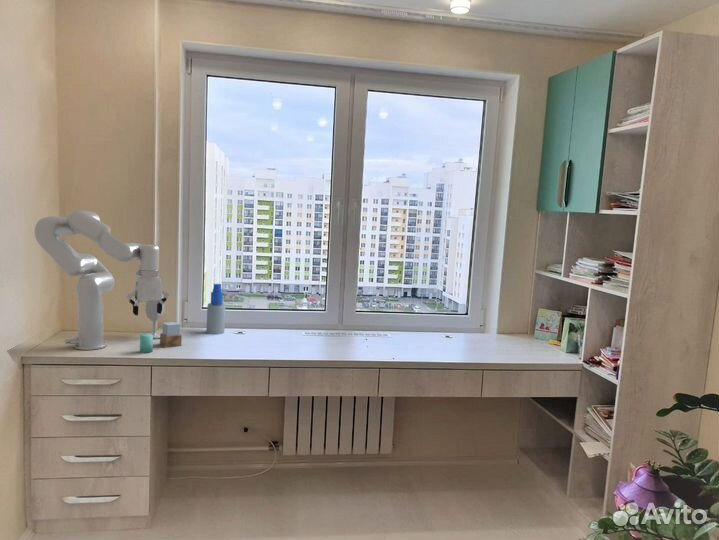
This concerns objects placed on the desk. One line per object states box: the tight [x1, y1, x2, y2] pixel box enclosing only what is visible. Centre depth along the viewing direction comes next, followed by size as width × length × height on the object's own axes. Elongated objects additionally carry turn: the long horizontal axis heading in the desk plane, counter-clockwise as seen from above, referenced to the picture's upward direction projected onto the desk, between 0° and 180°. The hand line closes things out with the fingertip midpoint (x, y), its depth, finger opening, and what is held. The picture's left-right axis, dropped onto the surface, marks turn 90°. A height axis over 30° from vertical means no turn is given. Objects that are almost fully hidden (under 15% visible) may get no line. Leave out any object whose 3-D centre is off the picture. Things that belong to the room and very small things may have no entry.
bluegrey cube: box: [162, 321, 181, 336], centre depth 228 cm, size 6×6×5 cm
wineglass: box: [145, 294, 165, 340], centre depth 240 cm, size 9×9×21 cm
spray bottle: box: [205, 283, 226, 335], centre depth 258 cm, size 9×9×25 cm
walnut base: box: [159, 332, 183, 348], centre depth 229 cm, size 7×7×5 cm
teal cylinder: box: [139, 333, 154, 354], centre depth 216 cm, size 5×5×7 cm
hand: (147, 314), depth 215 cm, fingers open, 9 cm apart
